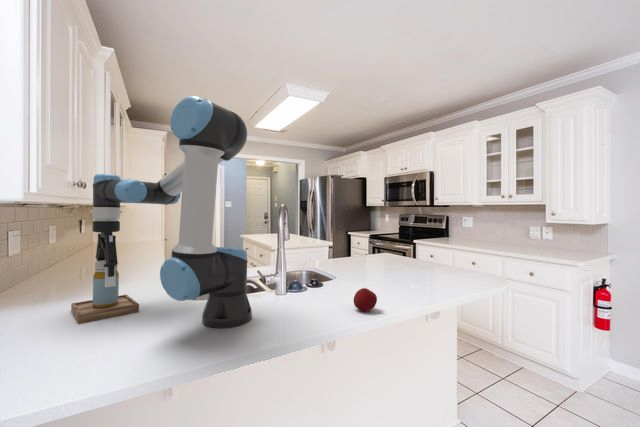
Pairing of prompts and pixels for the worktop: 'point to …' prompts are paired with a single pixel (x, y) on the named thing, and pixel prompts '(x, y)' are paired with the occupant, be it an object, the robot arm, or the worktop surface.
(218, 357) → the worktop surface
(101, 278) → the bottle
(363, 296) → the apple
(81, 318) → the tray
